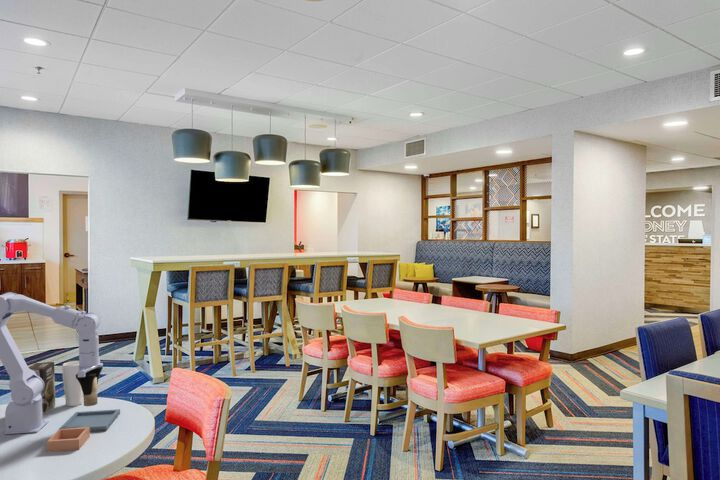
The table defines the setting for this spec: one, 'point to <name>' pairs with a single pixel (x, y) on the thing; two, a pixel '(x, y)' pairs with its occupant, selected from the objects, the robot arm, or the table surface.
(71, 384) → the white cylindrical piece
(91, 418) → the slate tray
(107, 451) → the table surface
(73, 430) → the hollow square frame
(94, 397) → the maple peg
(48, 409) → the coffee box
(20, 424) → the robot arm
